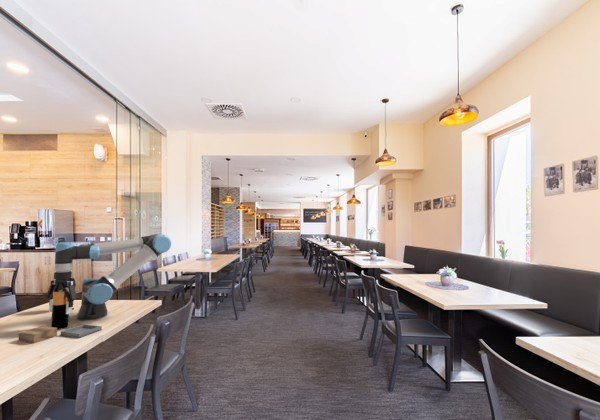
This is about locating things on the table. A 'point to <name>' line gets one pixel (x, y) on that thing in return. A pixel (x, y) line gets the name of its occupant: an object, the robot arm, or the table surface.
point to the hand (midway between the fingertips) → (60, 312)
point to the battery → (59, 310)
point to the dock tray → (81, 331)
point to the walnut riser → (37, 334)
